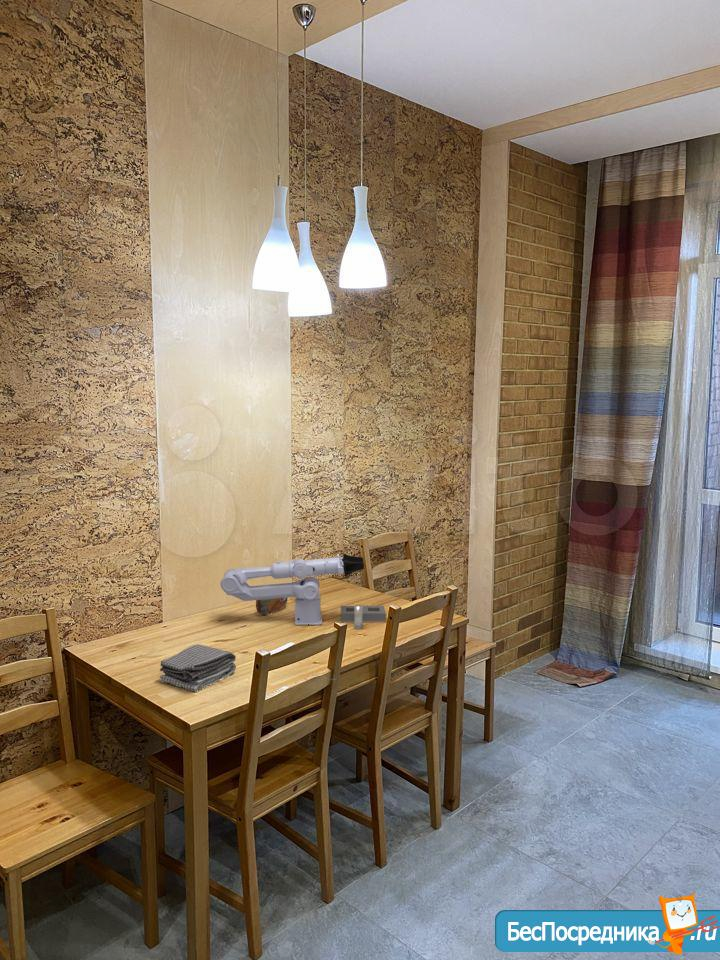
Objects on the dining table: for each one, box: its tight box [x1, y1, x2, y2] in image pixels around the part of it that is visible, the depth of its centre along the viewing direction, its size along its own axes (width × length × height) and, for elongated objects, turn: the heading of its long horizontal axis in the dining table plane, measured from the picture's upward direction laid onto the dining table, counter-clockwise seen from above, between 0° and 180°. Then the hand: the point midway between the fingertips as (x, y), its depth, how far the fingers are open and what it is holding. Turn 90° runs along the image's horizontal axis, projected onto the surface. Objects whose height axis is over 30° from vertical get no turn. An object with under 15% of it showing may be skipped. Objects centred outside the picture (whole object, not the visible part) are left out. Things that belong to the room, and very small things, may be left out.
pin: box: [353, 604, 364, 630], centre depth 266 cm, size 3×3×8 cm
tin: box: [255, 597, 289, 616], centre depth 284 cm, size 15×3×8 cm, turn 143°
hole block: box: [340, 605, 387, 624], centre depth 276 cm, size 16×9×4 cm, turn 92°
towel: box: [159, 643, 237, 693], centre depth 223 cm, size 15×18×8 cm
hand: (363, 563), depth 271 cm, fingers open, 7 cm apart
